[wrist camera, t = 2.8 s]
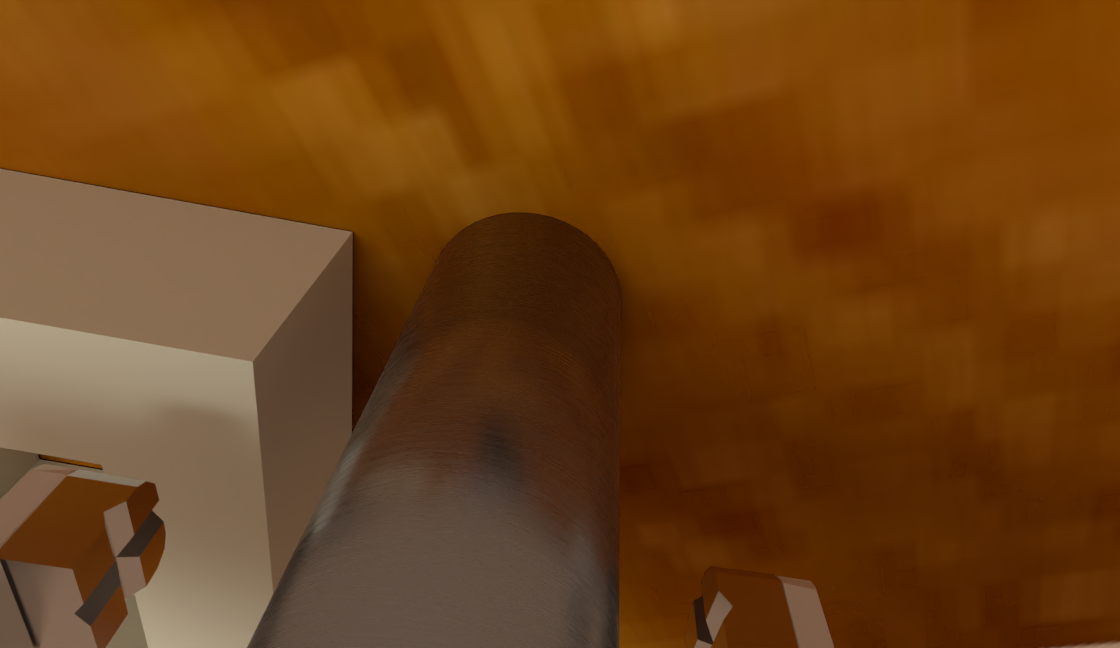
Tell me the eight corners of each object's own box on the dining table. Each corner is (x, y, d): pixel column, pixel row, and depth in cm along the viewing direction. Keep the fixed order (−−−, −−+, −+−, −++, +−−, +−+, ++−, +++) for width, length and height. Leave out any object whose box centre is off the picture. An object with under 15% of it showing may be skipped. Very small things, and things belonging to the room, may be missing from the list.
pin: (640, 232, 15) (672, 941, 5) (601, 392, 18) (569, 1095, 7) (437, 196, 15) (53, 843, 5) (424, 361, 17) (148, 1031, 7)
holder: (352, 232, 16) (252, 361, 11) (351, 579, 22) (286, 744, 18) (-195, 133, 15) (-504, 228, 11) (-36, 513, 22) (-194, 665, 18)
